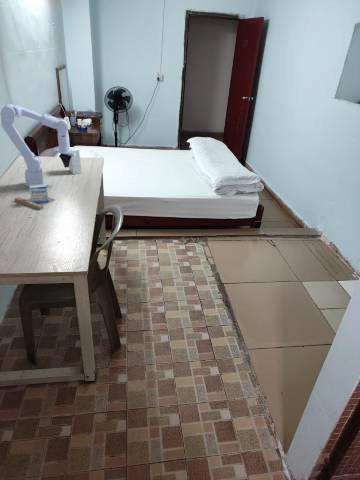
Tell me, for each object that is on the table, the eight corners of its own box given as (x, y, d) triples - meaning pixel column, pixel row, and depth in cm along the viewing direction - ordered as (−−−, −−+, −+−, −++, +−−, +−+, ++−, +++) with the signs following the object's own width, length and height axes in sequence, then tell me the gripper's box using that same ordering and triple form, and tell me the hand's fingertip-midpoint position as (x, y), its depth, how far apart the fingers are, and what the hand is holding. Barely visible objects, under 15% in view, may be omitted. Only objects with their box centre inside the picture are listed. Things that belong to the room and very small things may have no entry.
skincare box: (82, 173, 210) (80, 150, 202) (72, 174, 207) (70, 151, 199) (77, 169, 216) (75, 146, 208) (68, 170, 213) (66, 147, 205)
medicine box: (32, 204, 167) (29, 188, 162) (31, 200, 170) (28, 185, 166) (49, 202, 170) (46, 186, 166) (47, 198, 174) (45, 183, 169)
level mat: (15, 201, 169) (14, 197, 168) (36, 193, 179) (35, 189, 178) (40, 210, 162) (39, 206, 161) (60, 201, 172) (59, 197, 171)
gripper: (79, 143, 181) (81, 167, 188) (59, 139, 187) (62, 162, 193) (69, 146, 176) (72, 171, 182) (50, 141, 181) (53, 165, 188)
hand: (66, 167), depth 188 cm, fingers closed
